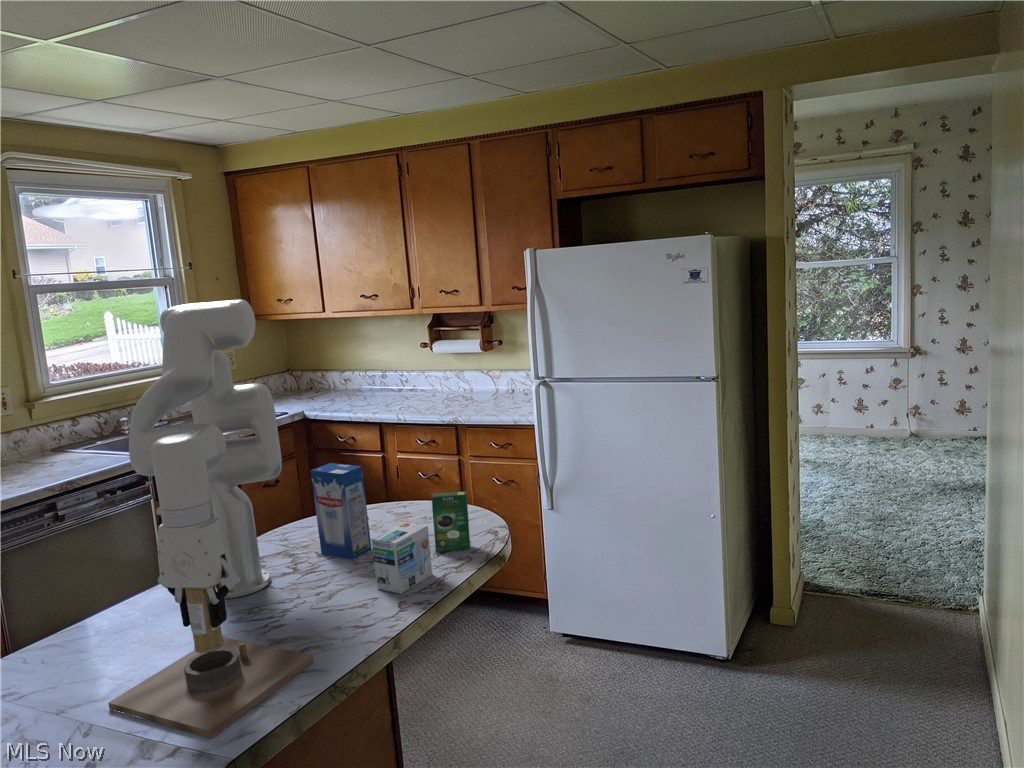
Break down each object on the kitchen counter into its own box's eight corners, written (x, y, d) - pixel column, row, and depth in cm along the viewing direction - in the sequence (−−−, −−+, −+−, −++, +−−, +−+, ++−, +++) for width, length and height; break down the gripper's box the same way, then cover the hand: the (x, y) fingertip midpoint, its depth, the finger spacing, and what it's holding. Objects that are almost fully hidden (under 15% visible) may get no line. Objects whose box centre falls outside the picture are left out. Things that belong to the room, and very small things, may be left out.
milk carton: (371, 550, 179) (361, 466, 176) (352, 560, 174) (342, 474, 171) (340, 544, 185) (330, 462, 181) (321, 554, 180) (310, 470, 176)
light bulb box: (401, 595, 154) (395, 543, 152) (375, 589, 158) (369, 539, 156) (434, 574, 163) (429, 524, 161) (409, 569, 167) (403, 521, 165)
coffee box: (471, 544, 177) (466, 489, 175) (471, 549, 174) (466, 493, 172) (436, 548, 177) (430, 493, 175) (435, 553, 174) (429, 497, 172)
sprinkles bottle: (229, 645, 125) (216, 566, 123) (201, 657, 122) (188, 576, 120) (216, 637, 128) (203, 560, 126) (189, 649, 125) (175, 570, 123)
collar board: (109, 709, 121) (104, 685, 121) (218, 642, 141) (215, 620, 140) (211, 738, 112) (207, 712, 111) (313, 661, 131) (310, 638, 130)
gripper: (124, 522, 120) (144, 632, 123) (221, 522, 116) (238, 636, 119) (157, 506, 127) (175, 610, 130) (249, 505, 123) (265, 614, 126)
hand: (205, 622), depth 124 cm, fingers closed on sprinkles bottle, 4 cm apart
